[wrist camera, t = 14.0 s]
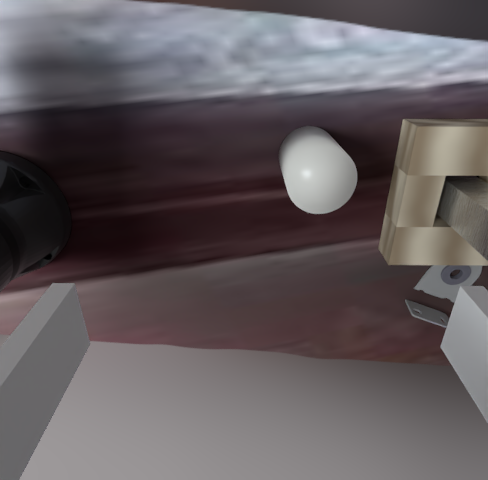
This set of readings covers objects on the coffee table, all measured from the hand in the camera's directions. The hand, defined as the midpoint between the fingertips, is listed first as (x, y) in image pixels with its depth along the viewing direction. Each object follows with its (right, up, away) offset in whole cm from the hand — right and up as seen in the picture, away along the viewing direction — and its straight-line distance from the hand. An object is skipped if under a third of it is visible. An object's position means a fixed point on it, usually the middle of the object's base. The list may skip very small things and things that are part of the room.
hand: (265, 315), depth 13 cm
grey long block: (+23, +9, +31) cm, 40 cm away
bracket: (+26, -3, +38) cm, 46 cm away
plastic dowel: (+6, +12, +29) cm, 32 cm away
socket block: (+23, +9, +31) cm, 40 cm away
